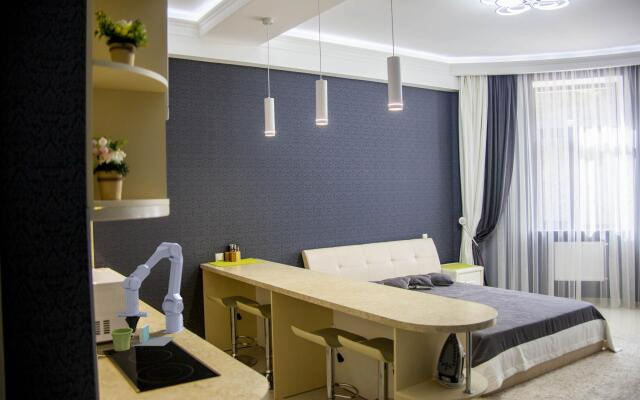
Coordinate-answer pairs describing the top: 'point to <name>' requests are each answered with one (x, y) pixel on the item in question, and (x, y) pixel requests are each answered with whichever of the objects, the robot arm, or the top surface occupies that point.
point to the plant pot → (121, 338)
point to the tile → (144, 333)
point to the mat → (153, 341)
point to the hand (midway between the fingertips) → (133, 332)
